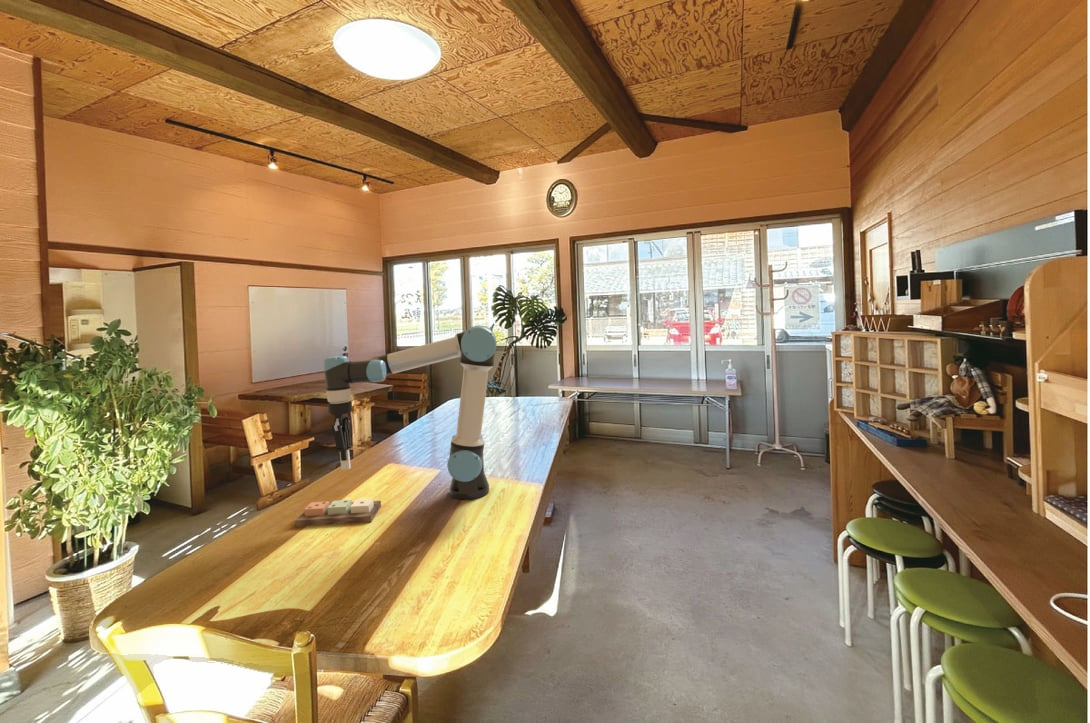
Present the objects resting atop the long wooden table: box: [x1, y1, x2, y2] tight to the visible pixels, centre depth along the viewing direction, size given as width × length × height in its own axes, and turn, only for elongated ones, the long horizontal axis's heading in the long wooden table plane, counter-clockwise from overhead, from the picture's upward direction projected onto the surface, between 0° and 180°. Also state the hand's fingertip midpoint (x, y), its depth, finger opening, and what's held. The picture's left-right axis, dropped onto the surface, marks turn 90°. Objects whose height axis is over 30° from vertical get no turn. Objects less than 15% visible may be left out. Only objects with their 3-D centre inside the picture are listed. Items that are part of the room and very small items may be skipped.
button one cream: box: [350, 498, 375, 513], centre depth 161 cm, size 6×6×3 cm
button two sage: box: [327, 499, 353, 515], centre depth 160 cm, size 6×6×3 cm
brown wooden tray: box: [295, 500, 382, 528], centre depth 161 cm, size 24×13×2 cm, turn 95°
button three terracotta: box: [303, 501, 331, 516], centre depth 160 cm, size 6×6×3 cm
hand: (346, 468), depth 161 cm, fingers closed
